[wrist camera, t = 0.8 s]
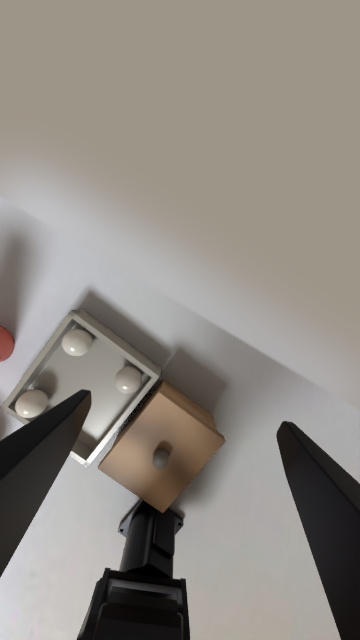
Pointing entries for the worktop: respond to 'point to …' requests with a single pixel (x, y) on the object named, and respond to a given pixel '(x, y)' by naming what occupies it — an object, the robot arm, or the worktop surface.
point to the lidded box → (162, 447)
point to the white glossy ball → (76, 342)
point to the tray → (87, 381)
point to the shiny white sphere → (128, 380)
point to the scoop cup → (5, 344)
